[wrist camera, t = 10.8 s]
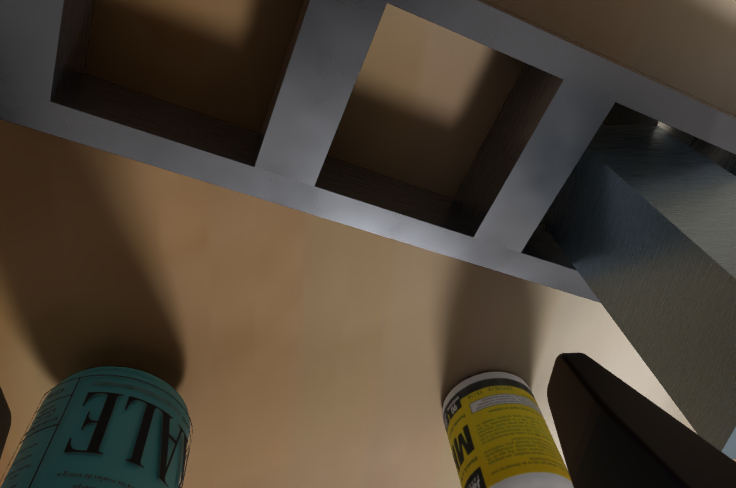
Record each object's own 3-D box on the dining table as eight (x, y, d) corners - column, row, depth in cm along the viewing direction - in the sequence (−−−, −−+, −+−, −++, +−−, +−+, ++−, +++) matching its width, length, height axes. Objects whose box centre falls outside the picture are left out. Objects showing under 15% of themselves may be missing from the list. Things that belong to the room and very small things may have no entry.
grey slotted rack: (14, 80, 19) (-30, 109, 16) (43, -203, 15) (-8, -223, 12) (634, 282, 26) (671, 324, 23) (754, 125, 22) (813, 154, 20)
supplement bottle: (437, 377, 28) (484, 543, 21) (530, 360, 28) (610, 519, 21) (443, 440, 30) (488, 607, 23) (529, 425, 31) (600, 586, 23)
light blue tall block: (536, 216, 24) (724, 470, 13) (559, 123, 21) (803, 338, 11) (627, 216, 24) (877, 462, 14) (657, 126, 22) (980, 334, 12)
